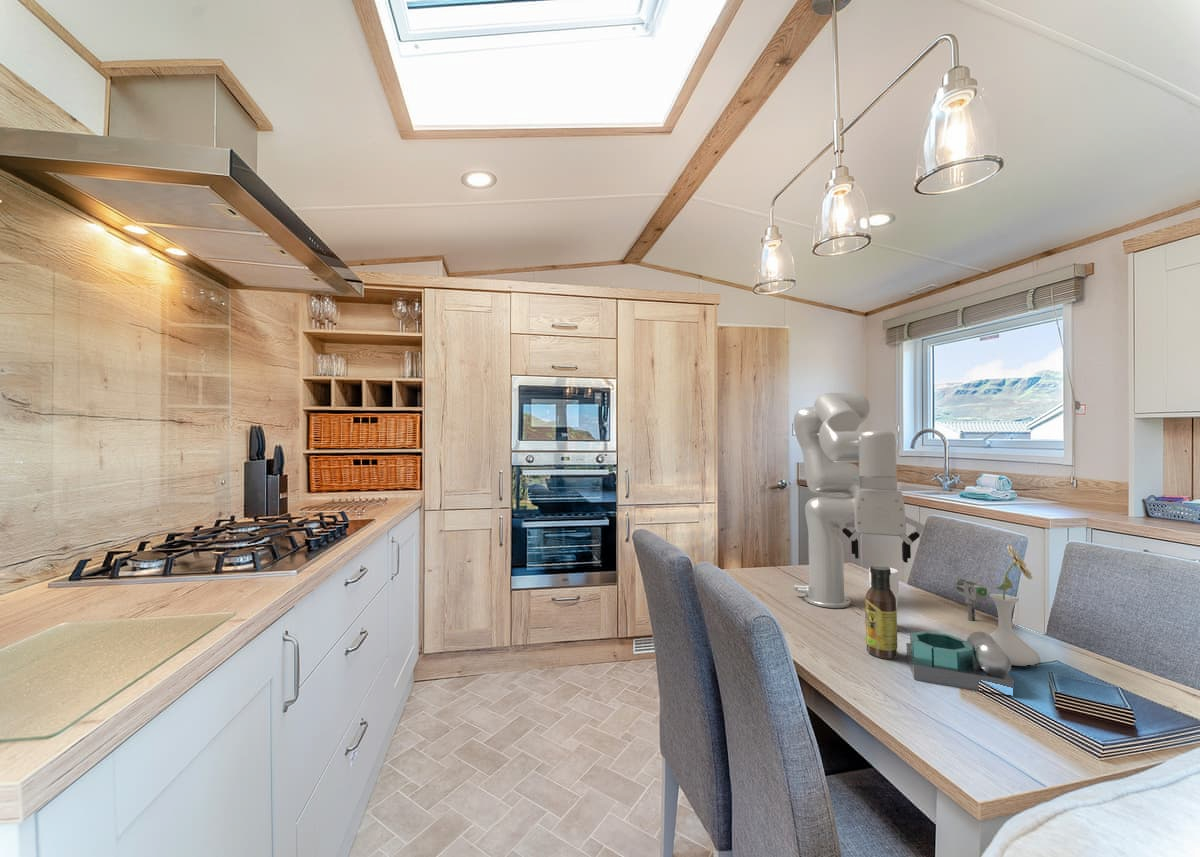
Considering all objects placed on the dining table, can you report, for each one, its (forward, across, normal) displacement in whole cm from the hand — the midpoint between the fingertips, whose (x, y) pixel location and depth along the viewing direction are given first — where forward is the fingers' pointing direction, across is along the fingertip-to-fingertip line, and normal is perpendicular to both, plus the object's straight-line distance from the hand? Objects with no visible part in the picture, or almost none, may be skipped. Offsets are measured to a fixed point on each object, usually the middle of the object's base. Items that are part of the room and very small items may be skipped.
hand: (880, 559), depth 112 cm
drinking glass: (+21, +2, +20) cm, 29 cm away
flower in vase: (+22, +25, +10) cm, 34 cm away
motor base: (+22, +13, -4) cm, 25 cm away
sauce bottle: (+22, 0, +1) cm, 22 cm away
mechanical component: (+21, +23, +36) cm, 48 cm away
